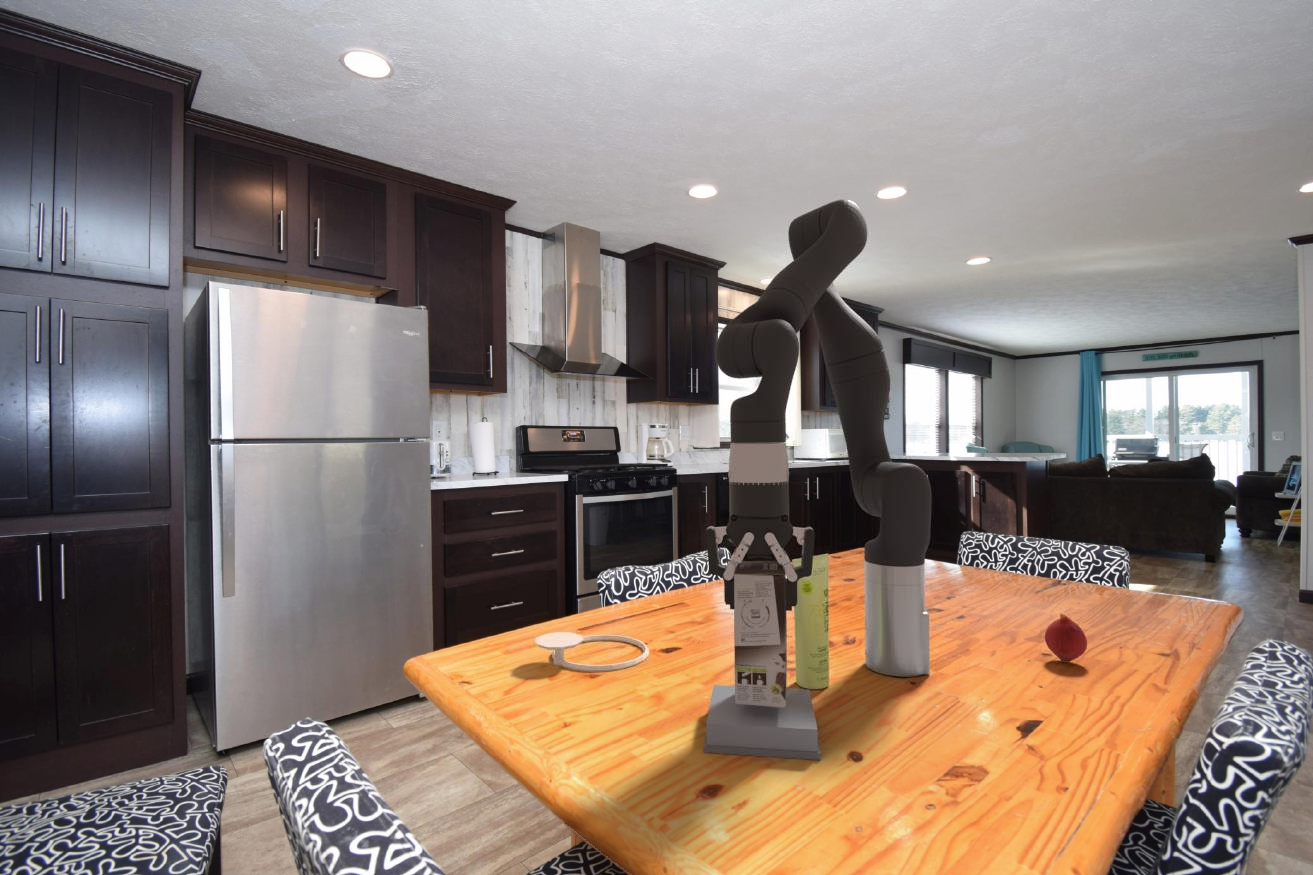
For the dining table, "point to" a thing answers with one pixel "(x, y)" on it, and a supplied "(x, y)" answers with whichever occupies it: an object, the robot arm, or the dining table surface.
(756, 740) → the plate
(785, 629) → the coffee box
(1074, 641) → the onion
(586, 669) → the hand towel holder
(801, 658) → the tube
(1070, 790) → the dining table surface
